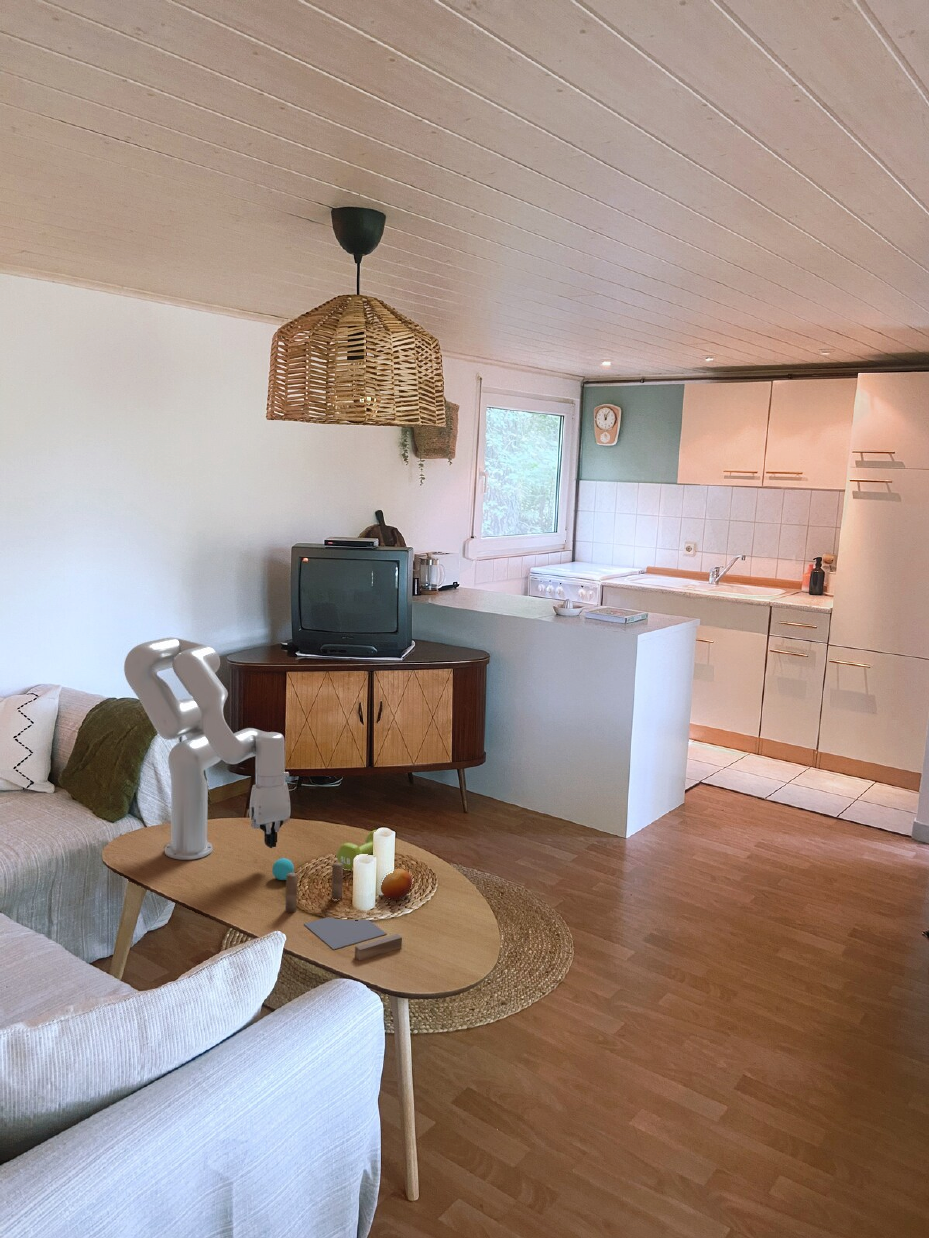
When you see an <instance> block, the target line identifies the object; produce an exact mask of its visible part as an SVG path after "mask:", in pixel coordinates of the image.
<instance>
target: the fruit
mask: <svg viewBox="0 0 929 1238" xmlns="http://www.w3.org/2000/svg"><path fill="white" fill-rule="evenodd" d="M393 870H394V871H393V873H390V874H388V875H386V877H385V878H384V880H383V882H382V885H381V884H380V891H381V893H382V894H383V896H384V897H386V898H387V899H388V898H390V899H389V900H391V899H396V900H395V901H398V899H399V900H403V899H405V900H406V897H407V896H408V895H410V894H409V893H410V892H411V889H412V885H413V878H412V875H411V874H410V873H409V872H408V871H407V870H405V869H403V868H394V869H393Z"/></svg>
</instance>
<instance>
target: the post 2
mask: <svg viewBox="0 0 929 1238" xmlns="http://www.w3.org/2000/svg"><path fill="white" fill-rule="evenodd" d="M343 874H344V870H343V863H339V862H338V861H337V862H334V863H332V873H331V877H332V878H331V897H332V898H333V899H337V900H338V899H341V898H342V899H343V883H344V882H343V881H344V880H343V878H344V875H343ZM331 897H330V898H331Z"/></svg>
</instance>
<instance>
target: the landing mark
mask: <svg viewBox="0 0 929 1238" xmlns="http://www.w3.org/2000/svg"><path fill="white" fill-rule="evenodd" d="M329 917H330V916H327V917H323V918H320V919H317V920H313V921H309V922H305V923H304V924H303V925H304V926H305V927H306V928H307V929H308V930H310V931H311V932H312V933H313V934H314V935H315V936H317V937H318V938H319V939H320V940H321V941H323V942H324V943H325V944H326V945H327V946H328V947H329V948H330V949H332V950H339V949H342V948H345V947H348V946H352V945H356V944H359V943H361V942H366V941H369V940H372V939H373V940H374V939H375V938H380V937H383V936H386V935H387V932H385V931H384V930H383V929H381V928H380V927H378V925H376V924H375V923H373V922H372V921H370V919H368V920H358V921H355V920H341V919H334V918H329Z"/></svg>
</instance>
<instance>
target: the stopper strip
mask: <svg viewBox="0 0 929 1238" xmlns="http://www.w3.org/2000/svg"><path fill="white" fill-rule="evenodd" d="M402 945H403V936H401V935H399V934H398V933H395V934H392V935H388V936H385V937H382V938H378V939H373V940H371V941H368V942H364V943H361V944H357V945H355V947H354V957H355V958H356V960H358V961H359V962H360V961H363V960H366V959H369V958H372V957H376V956H380V955H382V954H386V953H389V952H393V951H395V950H399V949H402Z"/></svg>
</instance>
